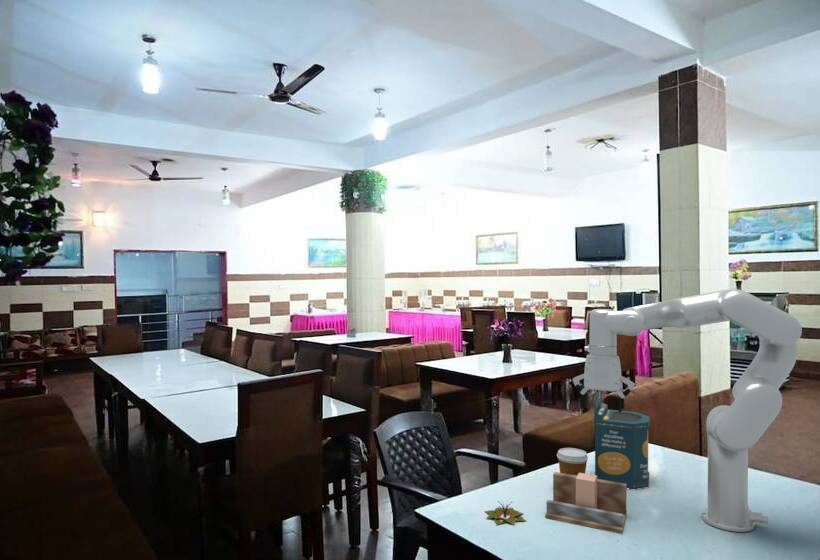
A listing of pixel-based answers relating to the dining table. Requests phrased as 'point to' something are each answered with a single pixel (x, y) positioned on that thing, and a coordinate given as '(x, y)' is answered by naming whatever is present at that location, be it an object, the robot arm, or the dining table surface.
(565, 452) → the disposable coffee cup
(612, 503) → the cleat board
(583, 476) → the terracotta block
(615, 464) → the donation box
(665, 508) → the dining table surface
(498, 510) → the lily flower
